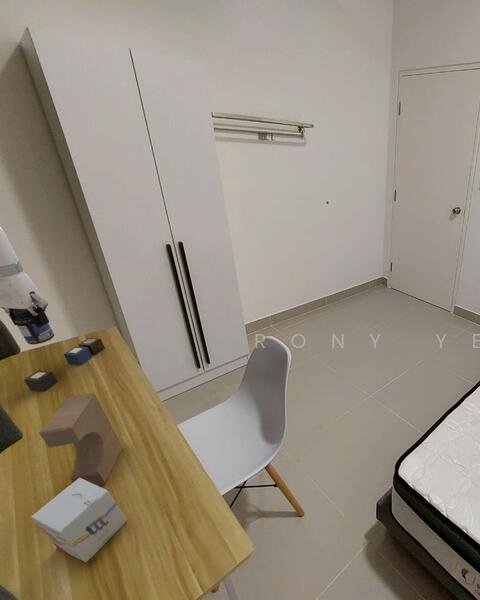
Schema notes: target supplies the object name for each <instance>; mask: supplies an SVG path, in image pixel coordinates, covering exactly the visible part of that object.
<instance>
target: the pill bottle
mask: <svg viewBox="0 0 480 600" xmlns="http://www.w3.org/2000/svg"><path fill="white" fill-rule="evenodd" d="M32 308H33V309H34V310H36V308H37V307H36V306H34V307H32ZM13 313H14V315H15V316H17V318H16V319H15V323H16V325H15V326H16V327H17V328H18V330H19V331H20V333H21V335H22V337H23V338H24V340H25V342H26V343H27V344H28V345H40V344H43V343H46V342H49V341H51V340H52V339H54V337H55V333H54V331H53V329H52V327H51V326H50V324H49V323H47V324H45V325H43V326H41V327H37V326H36V324H35V322H34V320H33V318H32V316H33V314H32V313H31V312H30V311H29V310H28V309H15V310H14V311H13Z"/></svg>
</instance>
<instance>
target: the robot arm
mask: <svg viewBox="0 0 480 600" xmlns="http://www.w3.org/2000/svg"><path fill="white" fill-rule="evenodd" d="M48 305H49V302H48V301H46V299H43V298H42V295H41V294H40V292H39V290H38V288H37V286H36V285H35V283H34V282H33V280H32V279H31V277H30V276H29V275H28V274H27V273H26V272H25V269H24V266H23V265H22V263H21V261H20V260H19V257H18V255H17V254H16V251H15V250H14V248H13V246H12V244H11V242H10V239H9V238H8V236H7V234H6V232H5V230H4V228H2V227H1V226H0V308H1V309H3V311H4V313H6V314H7V315H8V316H9V318H10V319H11V322H12V323H13V325H14V326H17V325H16V323H15V319H16V318H17V316H15V315H14V313H13V311H14V310H15V309H28V310H29V311H30V312H31V313H32V314H33V316H32V318H33V320H34V322H35V324H36V326H37V327H41V326H43V325H45V324H47V323H48V324H49V323H50V320H49V318H48V316H47V314H46V311H47V310H46V309H47V308H48ZM34 306H35V307H36V310H34V309H33V308H32V307H34Z"/></svg>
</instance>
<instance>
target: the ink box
mask: <svg viewBox="0 0 480 600" xmlns="http://www.w3.org/2000/svg"><path fill="white" fill-rule="evenodd" d="M30 518H31V519H32V520H33V521H34V522H35V523H36V524H37V526H38V527H39V528H40V529H41V531H42V532H43V533H44V534H45V535H46V536H47V538H48V539H49V540H50V541H51V542H52V544H53V545H54V547H55V548H56V549H58V550H59V551H62V552H64V553H66V554H68V555H70V556H71V557H73V558H76V559H78V560H80V561H83V562H84V563H88V562H89V561H90V560H91V559H92V557H94V556H95V554H96V553H98V552H99V550H101V548H103V547H104V545H105V544H106V543H107V542H109V540H110V539H111V538H112V537H113V536H114V535H115V534H116V533H117V532H118V531H119V530H120V529H121V528H122V527H123V526H124V525H125V524H126V523H127V521H128V519H127V518H126V516H125V515H124V513H123V512H122V510H121V509H120V507H119V506H118V504H117V503H116V501H115V500H114V498H113V496H112V495H111V493H110V492H109V490H108V489H106V488H103V487H101V486H97V485H95V484H92V483H90V482H88V481H86V480H84V479H81V478H78V479H77V480H76V481H75V482H74V483H73V482H72V483H71V484H70V485H68V486H67V487H65V488H64V489H63V490H62V491H61V492H59V493H58V494H57V495H56V496H54V497H53V498H52V499H51V500H50V501H48V502H47V503H46V504H44V505H43V506H42V507H41V508H39V509H38V510H37V511H36V512H35V513H33V514H32V515H31V517H30Z"/></svg>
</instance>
